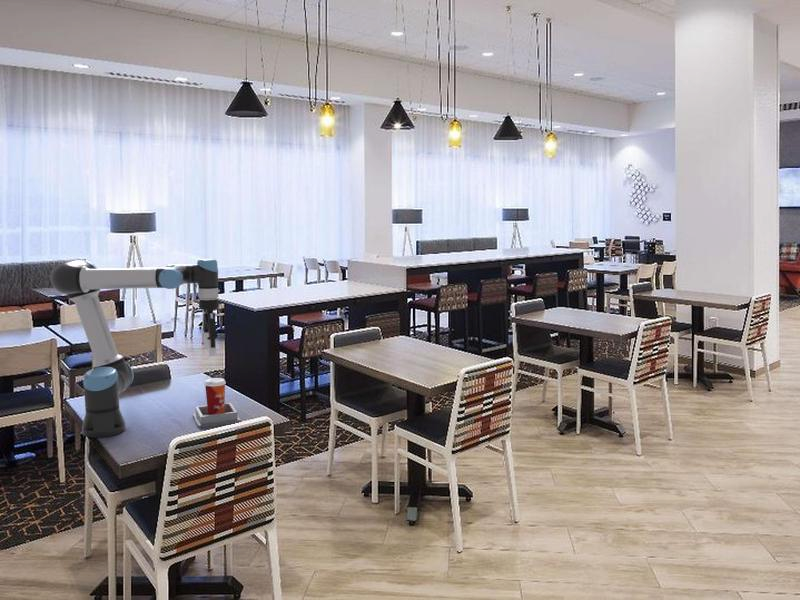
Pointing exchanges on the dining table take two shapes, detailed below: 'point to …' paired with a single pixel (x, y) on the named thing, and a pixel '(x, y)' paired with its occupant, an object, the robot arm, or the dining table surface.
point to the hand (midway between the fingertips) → (210, 352)
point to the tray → (215, 416)
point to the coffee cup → (215, 395)
